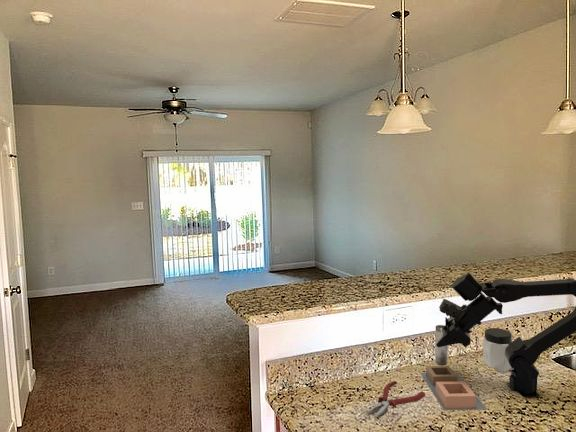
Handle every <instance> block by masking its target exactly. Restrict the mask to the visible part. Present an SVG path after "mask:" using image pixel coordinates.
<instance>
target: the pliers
mask: <svg viewBox="0 0 576 432" xmlns="http://www.w3.org/2000/svg"><path fill="white" fill-rule="evenodd" d="M397 384H398V382H397V381H396V380H393V381H390V382H389V383H387V384H386V385H385V386H384V389H383V392H382V393H383V394H382V396H379V397H378V399H377V403H376V404H375V405H374V406H373V407H371V409H370V410H368V411H367V412H366V415H370V414H371V415H372V414H374V413H375V416H374V419H376V418H378V417H380V416H382V415H384V414H386V413H387V412H388V410H389V408H388V407H391V406H392V407H393V408H397V405H405V404H409V403H410V404H411V403H415V402H418V401H420V400H421V399H422V400H423V398H424V397H425V396H426V393H425V392H424V391H422V390H421V391H420V392H419V393H417V394H416V395H412V396H407V397H402V398H395V399H388V395H389V390H390V388H392V387H394V386H395V385H397Z"/></svg>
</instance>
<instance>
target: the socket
mask: <svg viewBox="0 0 576 432" xmlns="http://www.w3.org/2000/svg"><path fill="white" fill-rule="evenodd" d="M465 382H466V381H465V380H464V381H455V382H436V395H437V396H438V398H439V399H440V401H441V402H442V404H443V406H444V407H445V409H448V408H476V396H477V394H476V393H475V392H474V391H473V389H470V388H471V387H470V385H468V384H467V382H466V383H465ZM469 387H470V388H469ZM473 392H474V393H475V394H474V393H473Z"/></svg>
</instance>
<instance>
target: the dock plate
mask: <svg viewBox="0 0 576 432" xmlns="http://www.w3.org/2000/svg"><path fill="white" fill-rule="evenodd" d="M420 375H421V377H422V379H424V381H425V383H426V384H427V387H428V388H429V389H430V391H431V393H432V394H433V396H434V398H435V399H436V401H437V402H438V404H439V405H440V407H441V409H442V411H482V410H483V411H487V410H488V408H487V407H486V406H485V404H484V403H483V402H482V401H481V400H480V398H479V397H478V396H477V395H476V393H475V392H474V391H473V393H474V394H475V395H476V408H448V409H445V407H444V406H443V404H442V402H441V401H440V399H439V398H438V396H437V395H436V382H455V381H465V379H464V378H463V377H462V376H461V375H460V374H459V372H454V370H453V369H452V367H450V366H449V365H426V366H425V372H420ZM465 383H466V384H467V382H466V381H465ZM469 388H470V389H471V387H470V386H469ZM471 390H472V389H471Z"/></svg>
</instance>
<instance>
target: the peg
mask: <svg viewBox="0 0 576 432" xmlns="http://www.w3.org/2000/svg"><path fill="white" fill-rule="evenodd" d="M446 332H447V326H445V324H437V325H435V338H434V339H435V340H434V342H435V348H434V351H435V352H434V354H435V355H434V357H435V358H434V363H435V364H436V365H437V366H448V356H449V355H448V354H449V353H448V348H449V347H448V346H449V345H448V346H443V347H437V346H436V344H437V343H438V341H439V340H440V339H441V338H442V337H443V336H444V335H445V333H446Z"/></svg>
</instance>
